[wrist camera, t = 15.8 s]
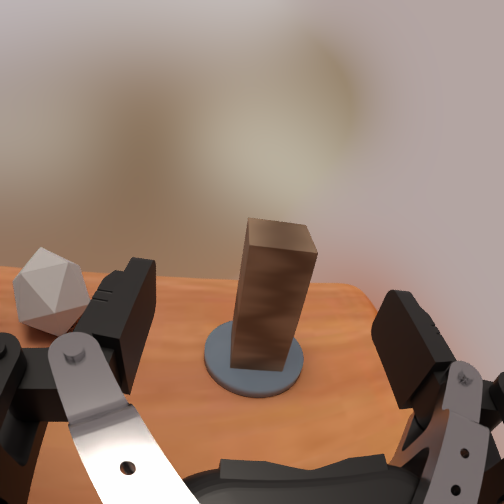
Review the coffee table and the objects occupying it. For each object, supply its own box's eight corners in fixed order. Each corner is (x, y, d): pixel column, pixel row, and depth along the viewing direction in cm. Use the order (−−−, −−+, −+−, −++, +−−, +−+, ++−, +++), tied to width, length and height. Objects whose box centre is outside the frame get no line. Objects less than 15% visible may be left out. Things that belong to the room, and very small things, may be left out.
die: (110, 323, 33) (89, 238, 34) (71, 341, 24) (46, 232, 25) (55, 335, 33) (36, 257, 33) (12, 351, 24) (-10, 256, 24)
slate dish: (218, 406, 26) (219, 398, 25) (195, 331, 34) (195, 323, 33) (316, 385, 29) (320, 378, 29) (278, 322, 37) (281, 314, 37)
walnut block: (229, 368, 29) (249, 244, 22) (231, 332, 33) (248, 217, 27) (282, 371, 29) (318, 253, 23) (277, 336, 33) (305, 225, 27)
